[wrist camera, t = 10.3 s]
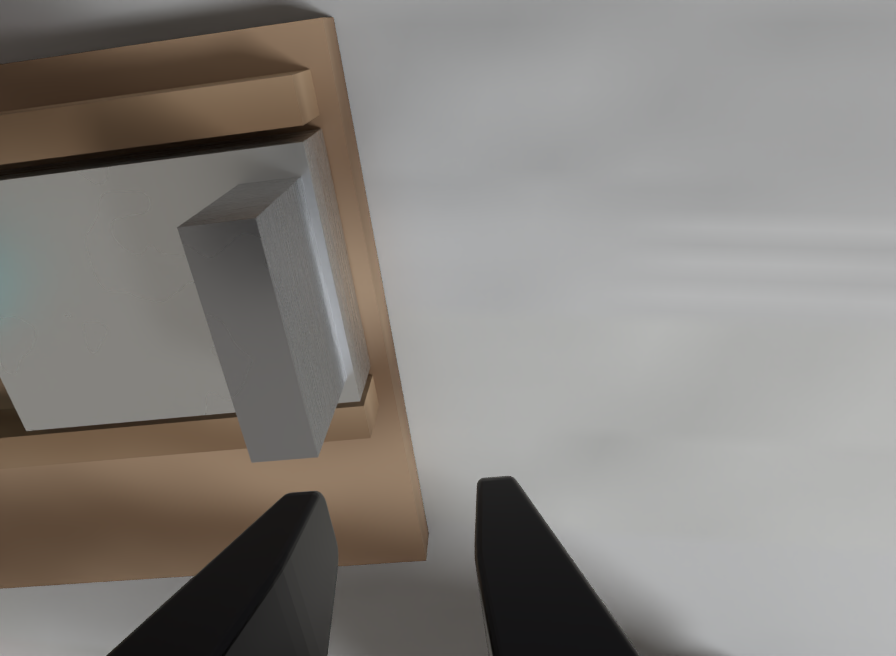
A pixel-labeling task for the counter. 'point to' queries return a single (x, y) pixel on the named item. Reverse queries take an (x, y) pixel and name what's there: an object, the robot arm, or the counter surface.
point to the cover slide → (182, 291)
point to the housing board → (218, 435)
